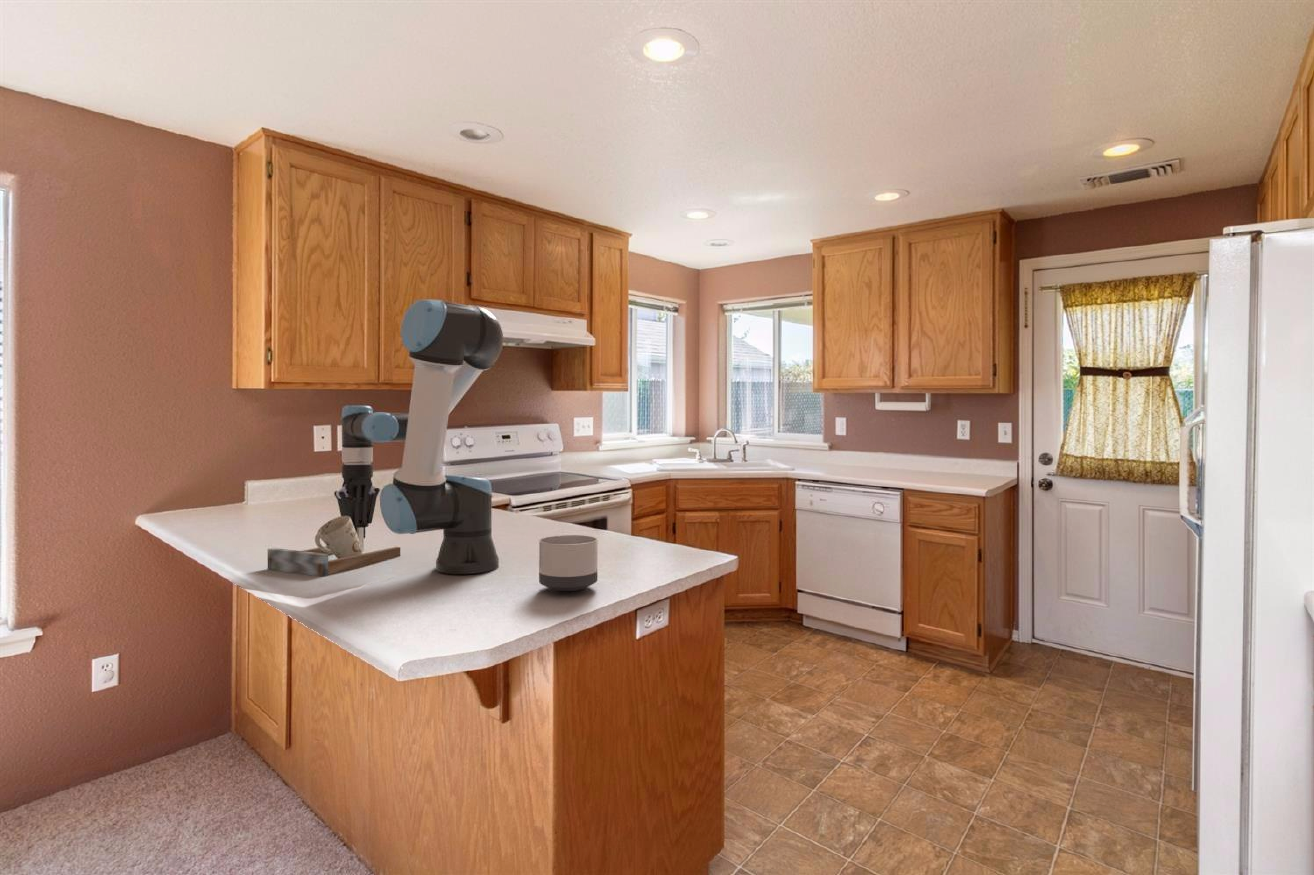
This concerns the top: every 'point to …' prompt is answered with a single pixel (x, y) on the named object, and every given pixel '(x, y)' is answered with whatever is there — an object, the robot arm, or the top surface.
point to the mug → (339, 538)
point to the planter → (568, 562)
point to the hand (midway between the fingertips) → (357, 551)
